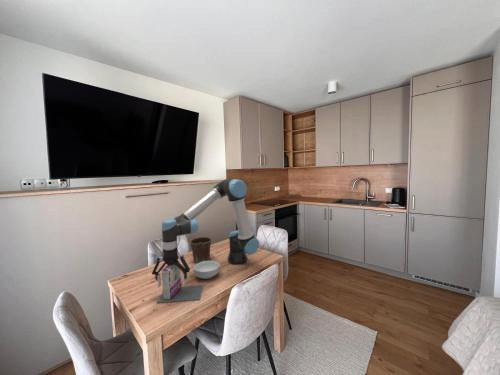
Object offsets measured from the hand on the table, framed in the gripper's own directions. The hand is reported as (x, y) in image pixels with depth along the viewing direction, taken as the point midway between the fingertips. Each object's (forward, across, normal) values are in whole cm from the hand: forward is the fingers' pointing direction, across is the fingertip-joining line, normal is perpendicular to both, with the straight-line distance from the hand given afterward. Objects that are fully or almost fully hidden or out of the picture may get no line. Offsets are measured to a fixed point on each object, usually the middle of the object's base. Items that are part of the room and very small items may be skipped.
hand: (171, 285), depth 114 cm
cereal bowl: (+6, -17, -19) cm, 26 cm away
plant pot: (+6, -10, -44) cm, 46 cm away
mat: (+6, -5, 0) cm, 8 cm away
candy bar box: (+5, 0, 0) cm, 5 cm away
